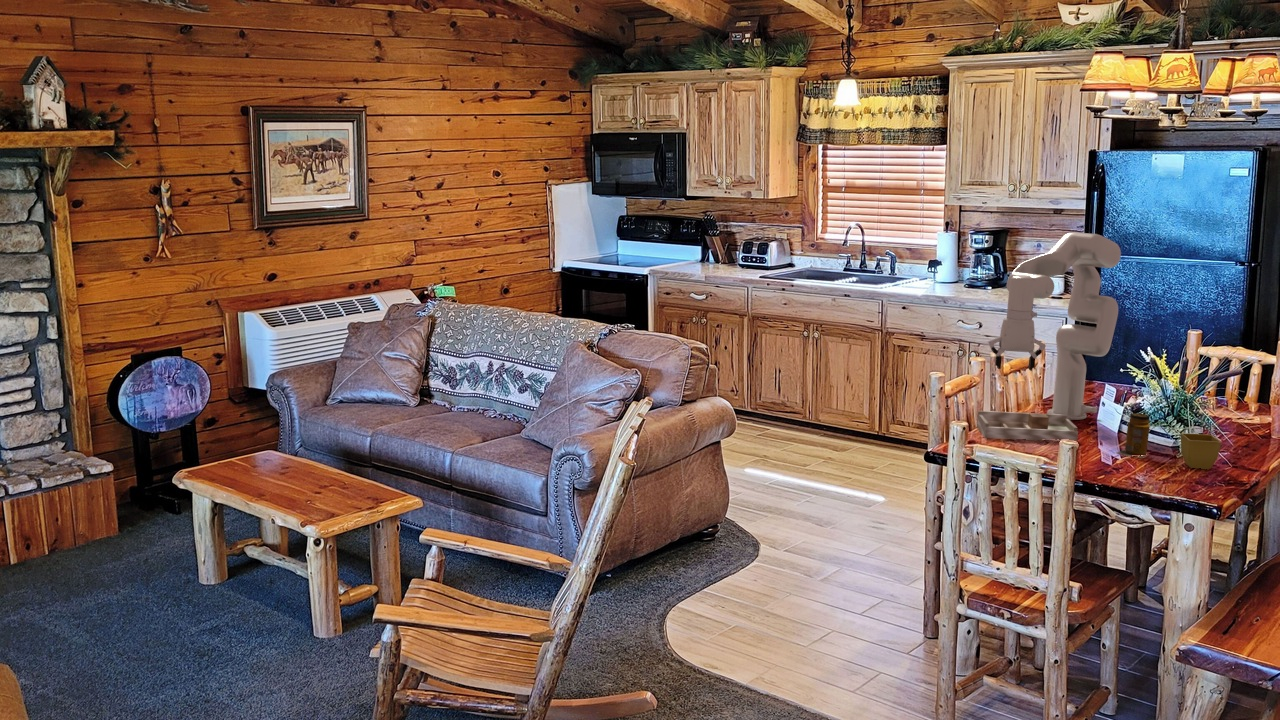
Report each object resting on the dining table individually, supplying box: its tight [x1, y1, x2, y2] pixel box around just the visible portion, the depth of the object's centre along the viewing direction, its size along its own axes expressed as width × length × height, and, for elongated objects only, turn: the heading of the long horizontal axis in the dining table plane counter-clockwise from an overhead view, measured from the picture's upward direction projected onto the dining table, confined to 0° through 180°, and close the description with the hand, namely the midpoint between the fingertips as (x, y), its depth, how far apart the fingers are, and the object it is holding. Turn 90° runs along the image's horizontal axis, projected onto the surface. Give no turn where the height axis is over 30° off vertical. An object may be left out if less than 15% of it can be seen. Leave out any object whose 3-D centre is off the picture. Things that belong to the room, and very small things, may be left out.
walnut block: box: [1028, 412, 1049, 429], centre depth 358 cm, size 5×5×4 cm
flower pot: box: [1180, 432, 1222, 470], centre depth 326 cm, size 9×9×9 cm
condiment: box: [1116, 412, 1151, 459], centre depth 338 cm, size 7×8×12 cm
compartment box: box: [976, 410, 1079, 443], centre depth 358 cm, size 28×14×6 cm, turn 84°
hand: (1014, 369), depth 355 cm, fingers open, 9 cm apart
